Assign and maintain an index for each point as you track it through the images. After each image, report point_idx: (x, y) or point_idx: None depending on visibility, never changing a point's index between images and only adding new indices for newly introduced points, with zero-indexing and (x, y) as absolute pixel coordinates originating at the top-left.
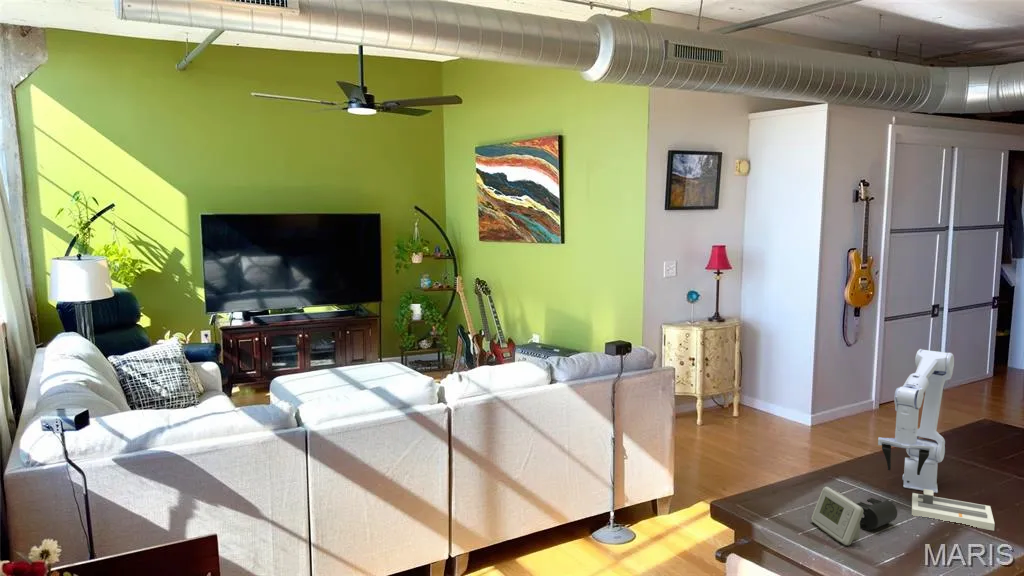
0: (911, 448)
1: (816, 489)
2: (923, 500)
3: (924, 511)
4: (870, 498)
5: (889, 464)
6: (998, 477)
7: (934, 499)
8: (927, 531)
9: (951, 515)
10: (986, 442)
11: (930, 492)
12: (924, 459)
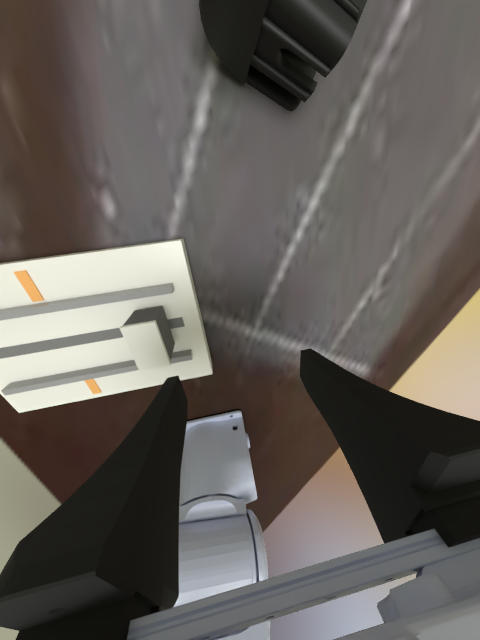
0: (229, 602)
1: (425, 277)
2: (159, 310)
3: (140, 245)
4: (360, 15)
5: (325, 365)
6: None
7: None
8: (83, 81)
9: (51, 265)
10: None
11: (138, 346)
12: (86, 489)
